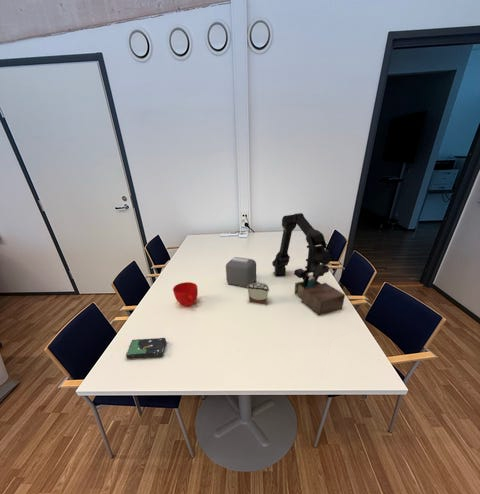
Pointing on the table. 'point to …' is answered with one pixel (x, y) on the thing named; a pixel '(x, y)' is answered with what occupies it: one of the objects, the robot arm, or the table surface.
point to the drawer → (301, 288)
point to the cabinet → (322, 298)
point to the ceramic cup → (186, 293)
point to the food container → (258, 293)
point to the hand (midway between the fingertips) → (309, 285)
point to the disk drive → (146, 348)
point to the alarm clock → (241, 271)
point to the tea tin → (311, 281)
